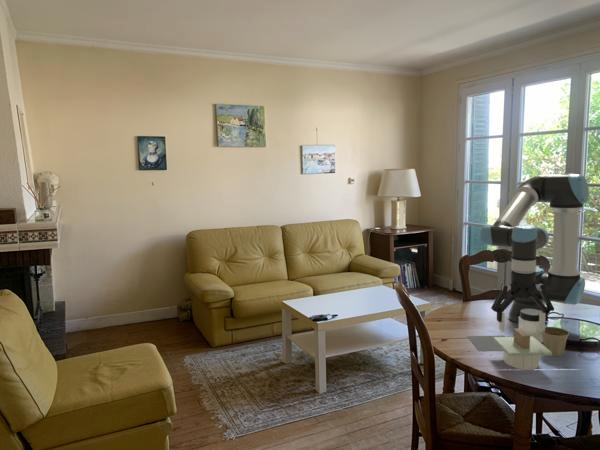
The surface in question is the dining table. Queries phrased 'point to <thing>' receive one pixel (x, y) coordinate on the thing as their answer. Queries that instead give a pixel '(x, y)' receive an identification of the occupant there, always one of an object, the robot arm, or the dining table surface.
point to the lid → (522, 345)
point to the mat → (485, 343)
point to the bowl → (522, 361)
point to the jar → (530, 323)
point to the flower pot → (555, 340)
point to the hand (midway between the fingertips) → (521, 330)
